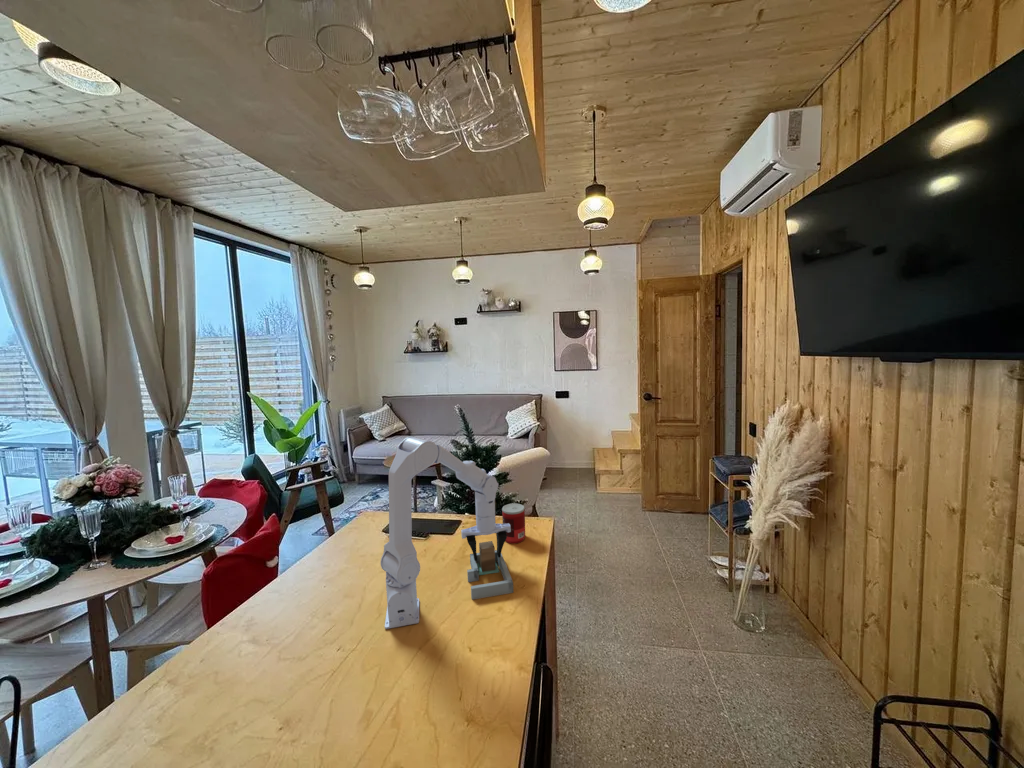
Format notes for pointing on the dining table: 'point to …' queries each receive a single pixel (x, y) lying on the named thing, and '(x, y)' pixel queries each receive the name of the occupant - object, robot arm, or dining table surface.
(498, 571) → the pad
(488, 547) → the block
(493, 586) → the grey open rectangular frame
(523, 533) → the canned food
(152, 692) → the dining table surface
